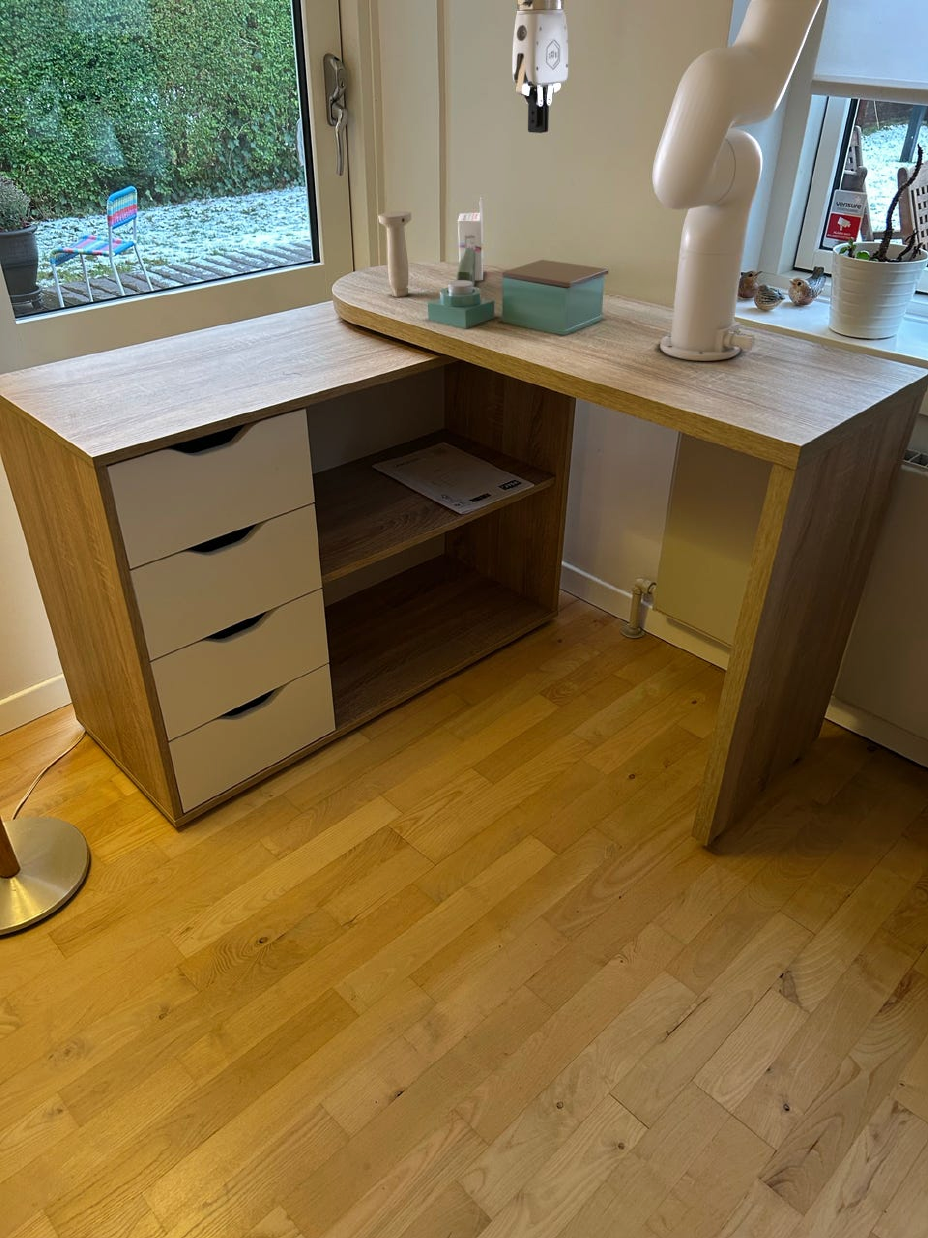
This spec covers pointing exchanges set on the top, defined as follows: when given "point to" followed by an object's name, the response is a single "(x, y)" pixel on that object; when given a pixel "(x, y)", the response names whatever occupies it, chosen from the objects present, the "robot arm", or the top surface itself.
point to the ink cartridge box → (472, 237)
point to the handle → (397, 250)
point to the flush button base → (461, 309)
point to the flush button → (460, 287)
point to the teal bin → (552, 305)
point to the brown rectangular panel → (555, 273)
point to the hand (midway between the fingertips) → (538, 131)
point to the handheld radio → (467, 266)
